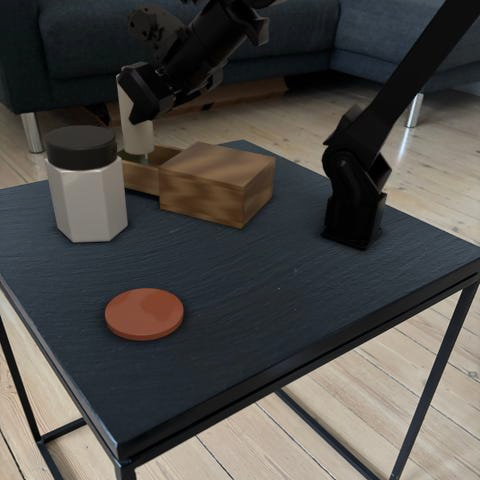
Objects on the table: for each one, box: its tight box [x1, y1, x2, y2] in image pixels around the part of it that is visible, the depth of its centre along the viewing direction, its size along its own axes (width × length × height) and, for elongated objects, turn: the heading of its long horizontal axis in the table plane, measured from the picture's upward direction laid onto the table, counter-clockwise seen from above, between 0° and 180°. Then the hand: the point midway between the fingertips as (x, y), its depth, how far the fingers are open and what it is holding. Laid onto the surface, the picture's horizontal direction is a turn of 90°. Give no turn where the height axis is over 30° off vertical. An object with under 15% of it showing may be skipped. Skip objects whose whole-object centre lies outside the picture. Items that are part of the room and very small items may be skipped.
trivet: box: [104, 287, 185, 342], centre depth 53 cm, size 8×8×1 cm
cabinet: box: [158, 141, 276, 230], centre depth 73 cm, size 13×12×6 cm
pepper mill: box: [115, 65, 155, 155], centre depth 72 cm, size 4×4×11 cm
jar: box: [43, 125, 129, 244], centre depth 64 cm, size 9×8×12 cm
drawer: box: [117, 142, 186, 197], centre depth 77 cm, size 13×10×4 cm
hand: (140, 117), depth 73 cm, fingers closed on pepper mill, 4 cm apart
